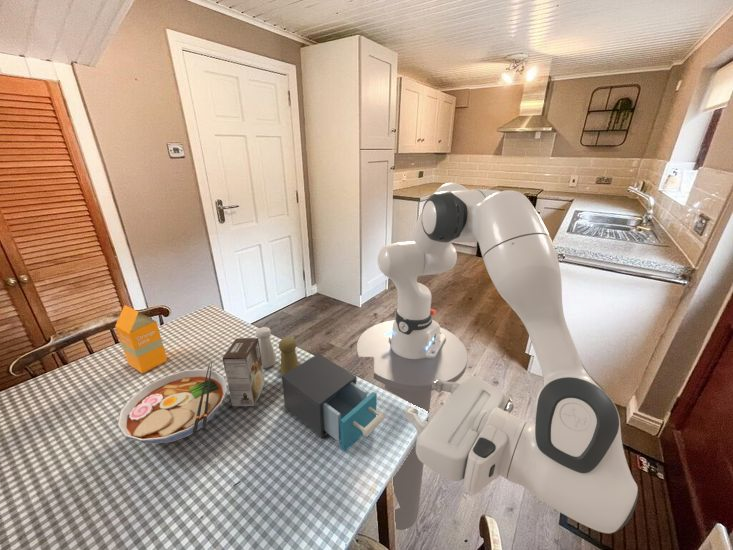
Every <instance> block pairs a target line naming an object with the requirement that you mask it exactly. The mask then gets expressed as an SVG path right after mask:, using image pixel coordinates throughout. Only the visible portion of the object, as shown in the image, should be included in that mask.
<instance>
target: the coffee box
mask: <svg viewBox="0 0 733 550" xmlns="http://www.w3.org/2000/svg"><path fill="white" fill-rule="evenodd" d="M222 363H223V367H224V372H225V373H224V374H225V377H226V378H225V379H226V384H227V389H228V392H229V397H230V401H231V406H232V407H255V406H256V404H257V402H258V400H259V398H260V395H261V393H262V391H263V389H264V387H265V384H266V381H265V375H264V373H265V372H264V368H263V367H262V360H261V353H260V347H259V338H257V337H239V338H235V339H234V340H233V342H232V343H231V345H230V346H229V347H228V349H227V351H226V352H225V353H224V354H223V356H222Z"/></svg>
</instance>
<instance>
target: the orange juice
mask: <svg viewBox="0 0 733 550" xmlns="http://www.w3.org/2000/svg"><path fill="white" fill-rule="evenodd" d="M114 327H115V330H116V333H117V335H118V338H119V341H120V344H121V348H122V350H123V353H124V355H125V358H126V362H127V364H128V365H129V366H130V367H132V368H133V369H135V370H137V371H138V372H139V373H141V374H145V373H146V372H148V371H150V370H152V369H155V368H156V367H158V366H160V365H162V364H164V363H165V362H167V361H168V357H167V353H166V351H165V348H164V343H163V339H162V337H161V333H160V330H159V326H158V323H157V321H156V320H154V319H153V318H151V317H149V316H147V315H145V314H144V313H142V312H141V311H138V310H137V309H135V308H132V307H130V306H128V305H126V304H124V305H123V307H122V309H121V312H120V314H119V316H118V318H117V321H116V323H115V325H114Z"/></svg>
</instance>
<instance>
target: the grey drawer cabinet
mask: <svg viewBox="0 0 733 550" xmlns="http://www.w3.org/2000/svg"><path fill="white" fill-rule="evenodd" d="M351 382H353V383H355V384H357V375H355V374H354V373H352V372H350V371H348V370H347V369H345V367H342V366H341V365H338V364H337V363H336V362H333V361H332V360H331V359H329V358H327V357H325V356H324V355H322V354H320V353H317V354H316V355H313V356H312V357H310V358H308V359H307V360H306V361H304V362H302V363H301V364H299V366H297V367H296V368H294V369H292V370H291V371H289V372H287V373H286V374H284V375H282V374H281V384H282V393H283V402H284V407H285V409H286V410H287V411H288V412H289V413H291V414H292V415H293V416H294V417H295V418H297V419H298V420H299V421H300V422H302V424H304V425H305V426H306V427H307V428H309V429H310V430H311V431H312V432H313V433H314V434H316V436H318V437H319V438H320V439H323V438H324V437H325V436H326V435H327V434H328V433H327V432H326V431H324V430H323V413H322V405H323V404H324V403H325V402H327V401H328V400H329V399H331V398H332V397H333V396H334V395H336V394H337V393H338V392H340V391H341V390H342V389H344V388H345V387H346V386H347V385H349V384H350V383H351Z"/></svg>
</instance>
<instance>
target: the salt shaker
mask: <svg viewBox="0 0 733 550" xmlns="http://www.w3.org/2000/svg"><path fill="white" fill-rule="evenodd" d="M271 334H272V331H271V329H270V327H268V326H263V327H260V328H258V329H256V331H255V336H256V338H258V340H259V347H260V353H261V360H262V367H263V369H266V368H271V367H272V366H273V365H275V363H276V359H277V354H276V352H275V349H274V346H273V343H272V341H271V338H270V337H271Z"/></svg>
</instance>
